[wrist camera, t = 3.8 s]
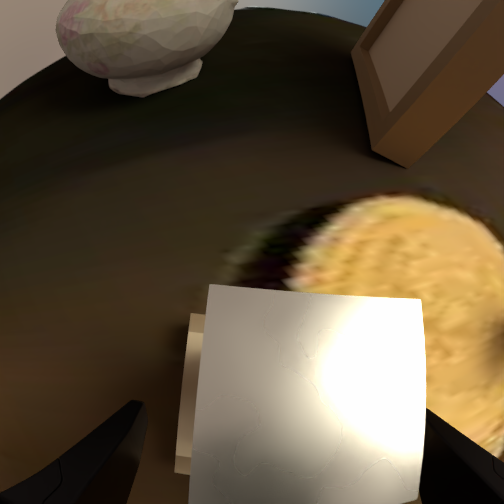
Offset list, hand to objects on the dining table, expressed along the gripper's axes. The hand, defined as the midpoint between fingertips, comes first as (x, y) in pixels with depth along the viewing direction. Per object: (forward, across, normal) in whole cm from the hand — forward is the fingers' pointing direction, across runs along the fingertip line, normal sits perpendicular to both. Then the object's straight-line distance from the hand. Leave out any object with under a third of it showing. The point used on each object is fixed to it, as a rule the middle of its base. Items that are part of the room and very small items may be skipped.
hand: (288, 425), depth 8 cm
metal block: (+6, 0, +6) cm, 8 cm away
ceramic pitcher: (+30, +14, -17) cm, 37 cm away
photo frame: (+28, -17, -16) cm, 36 cm away
